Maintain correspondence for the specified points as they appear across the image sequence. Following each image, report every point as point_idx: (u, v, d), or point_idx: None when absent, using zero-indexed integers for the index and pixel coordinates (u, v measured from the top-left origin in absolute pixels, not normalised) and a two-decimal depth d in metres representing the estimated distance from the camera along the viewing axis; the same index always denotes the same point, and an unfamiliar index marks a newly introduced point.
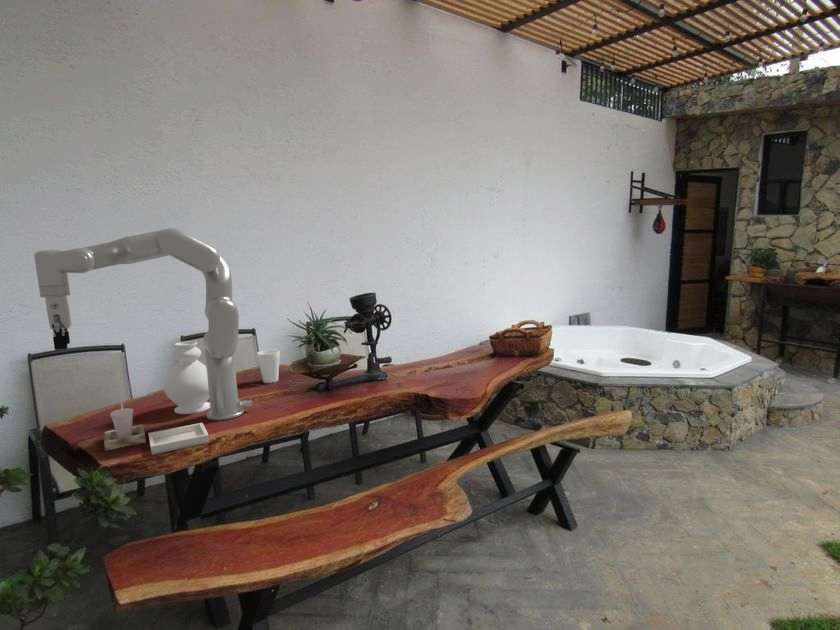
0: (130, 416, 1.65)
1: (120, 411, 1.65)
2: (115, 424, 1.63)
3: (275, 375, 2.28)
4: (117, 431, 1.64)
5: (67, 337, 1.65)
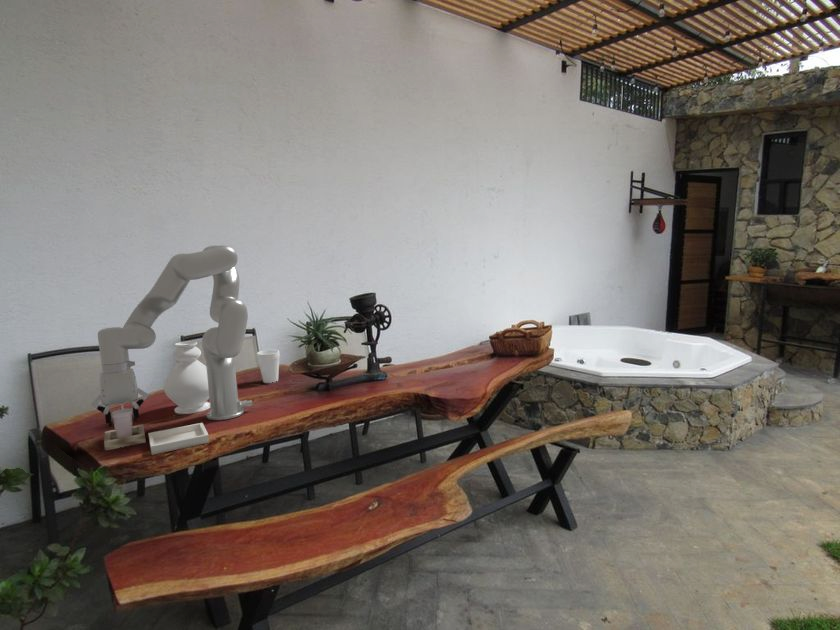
0: (130, 416, 1.65)
1: (120, 411, 1.65)
2: (115, 424, 1.63)
3: (275, 375, 2.28)
4: (117, 431, 1.64)
5: None
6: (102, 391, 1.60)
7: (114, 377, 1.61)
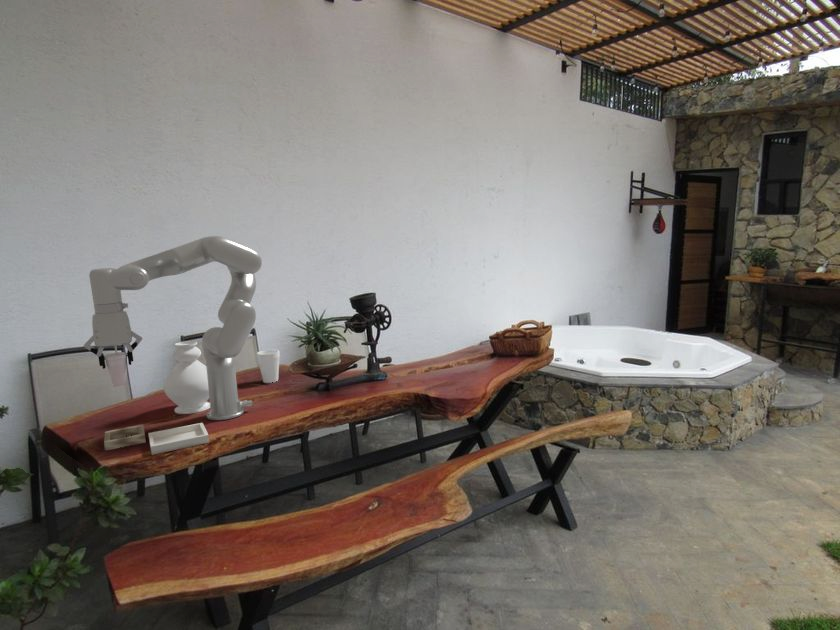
0: (124, 359, 1.62)
1: (114, 354, 1.62)
2: (109, 367, 1.61)
3: (275, 375, 2.28)
4: (111, 374, 1.61)
5: None
6: (95, 332, 1.57)
7: (107, 318, 1.58)
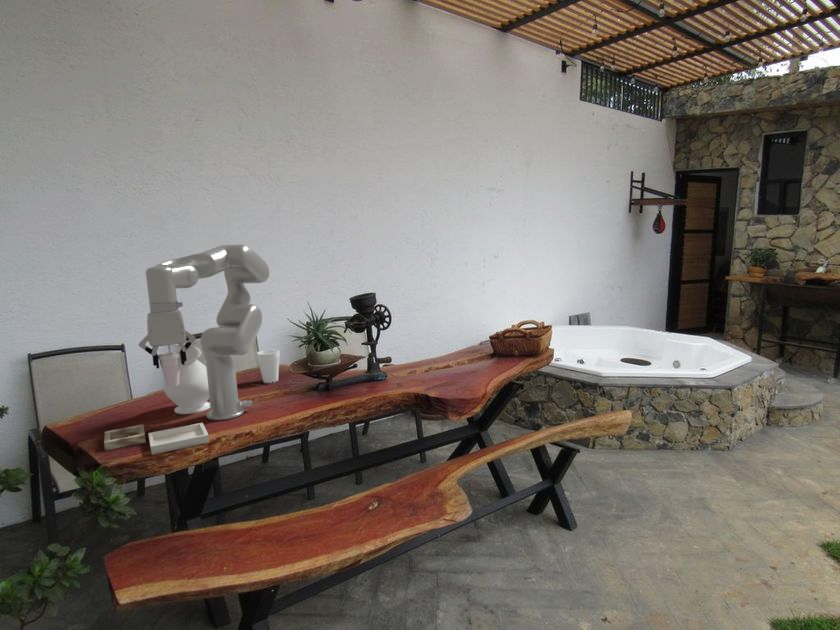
0: (178, 359, 1.60)
1: (167, 353, 1.59)
2: (163, 366, 1.58)
3: (275, 375, 2.28)
4: (165, 374, 1.59)
5: None
6: (150, 331, 1.55)
7: (162, 317, 1.55)
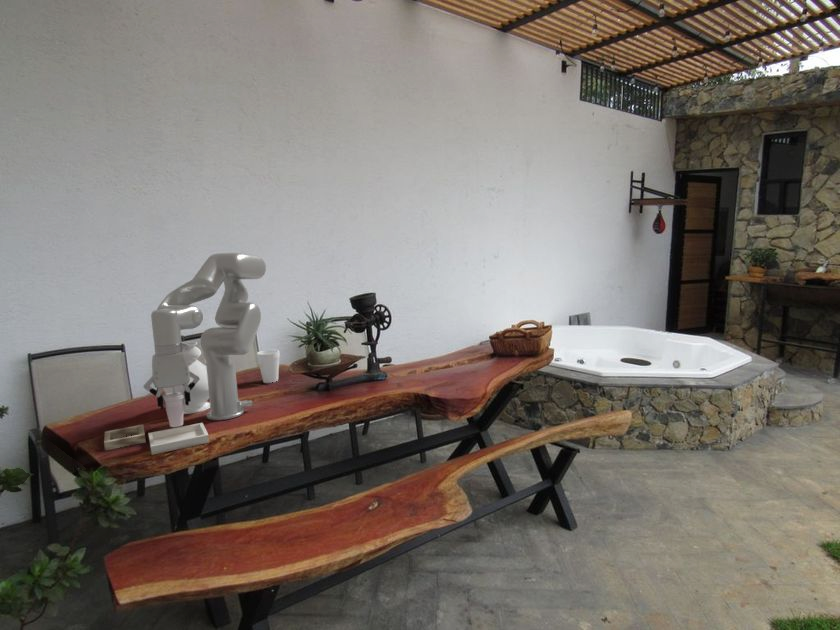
0: (182, 399, 1.61)
1: (172, 394, 1.61)
2: (167, 407, 1.60)
3: (275, 375, 2.28)
4: (169, 415, 1.60)
5: None
6: (155, 373, 1.57)
7: (167, 359, 1.57)
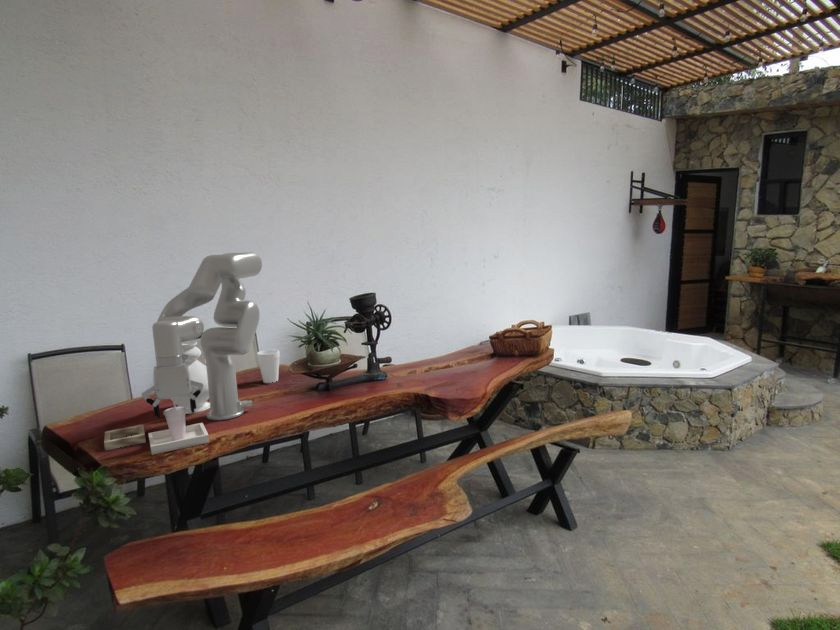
0: (183, 414, 1.62)
1: (173, 409, 1.62)
2: (169, 422, 1.61)
3: (275, 375, 2.28)
4: (171, 429, 1.61)
5: None
6: (157, 385, 1.57)
7: (168, 371, 1.58)
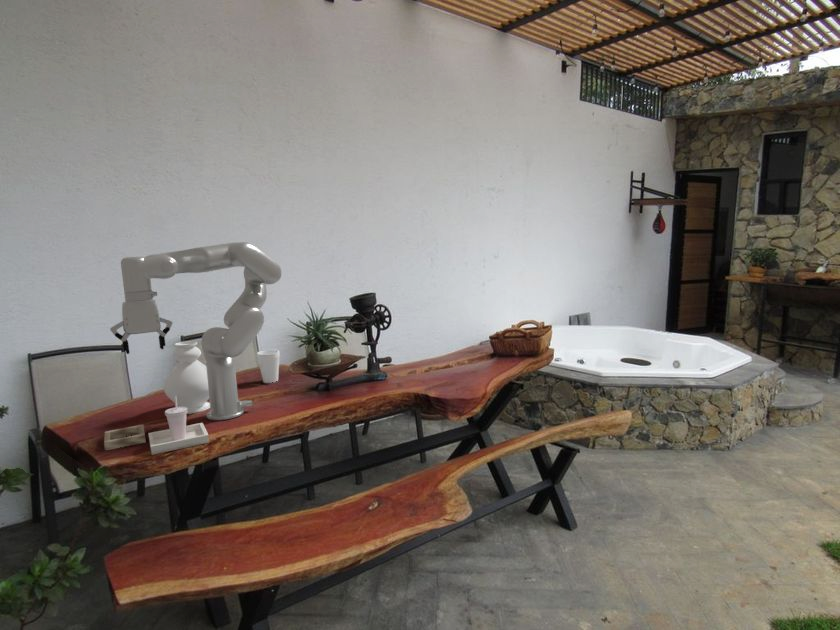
0: (184, 415, 1.62)
1: (174, 409, 1.62)
2: (170, 423, 1.61)
3: (275, 375, 2.28)
4: (171, 430, 1.61)
5: None
6: (126, 319, 1.59)
7: (138, 306, 1.60)
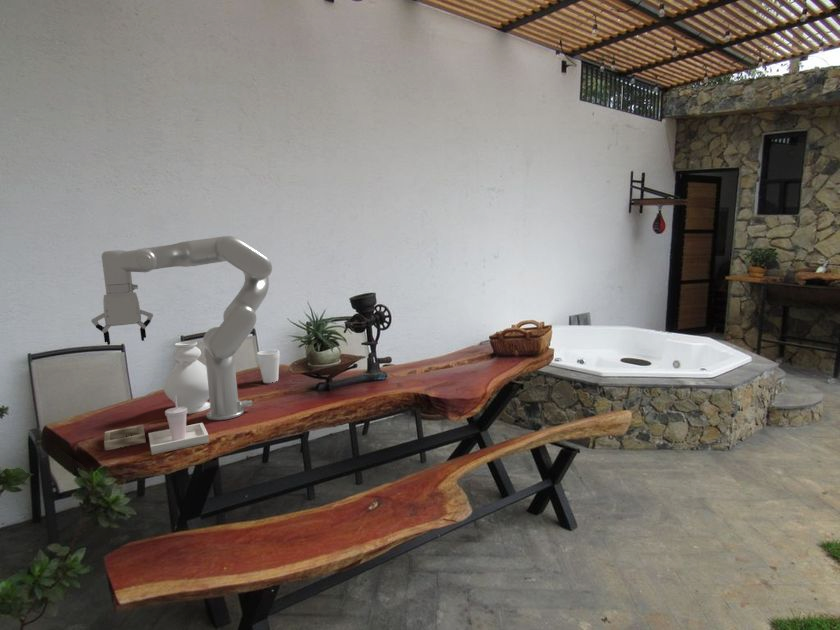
0: (184, 415, 1.62)
1: (174, 409, 1.62)
2: (170, 423, 1.61)
3: (275, 375, 2.28)
4: (171, 430, 1.61)
5: (109, 337, 1.68)
6: (106, 311, 1.64)
7: (117, 298, 1.65)
